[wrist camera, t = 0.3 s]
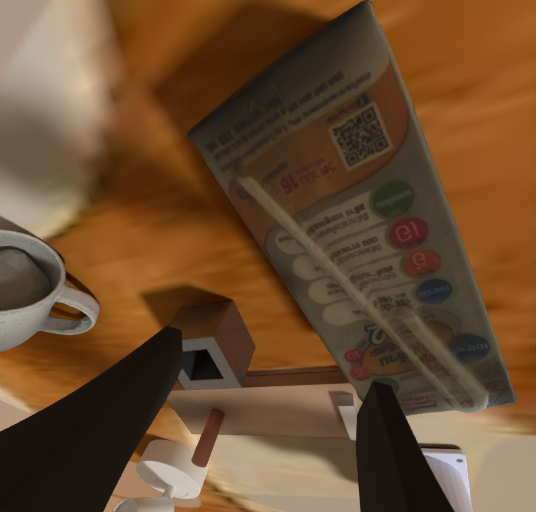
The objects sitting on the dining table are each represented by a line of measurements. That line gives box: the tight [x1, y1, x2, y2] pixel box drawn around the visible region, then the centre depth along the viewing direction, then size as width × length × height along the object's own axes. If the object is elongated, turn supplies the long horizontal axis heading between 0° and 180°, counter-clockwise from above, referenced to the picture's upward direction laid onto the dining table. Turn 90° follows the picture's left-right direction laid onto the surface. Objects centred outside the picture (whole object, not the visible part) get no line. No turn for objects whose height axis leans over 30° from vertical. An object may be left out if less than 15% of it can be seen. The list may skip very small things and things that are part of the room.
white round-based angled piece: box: [112, 439, 208, 512], centre depth 34 cm, size 9×10×10 cm
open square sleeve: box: [168, 300, 255, 390], centre depth 23 cm, size 5×5×4 cm
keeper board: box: [167, 371, 406, 468], centre depth 25 cm, size 7×22×6 cm, turn 110°
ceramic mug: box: [0, 229, 100, 352], centre depth 23 cm, size 11×8×8 cm
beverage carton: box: [187, 0, 517, 416], centre depth 15 cm, size 8×19×7 cm, turn 32°
